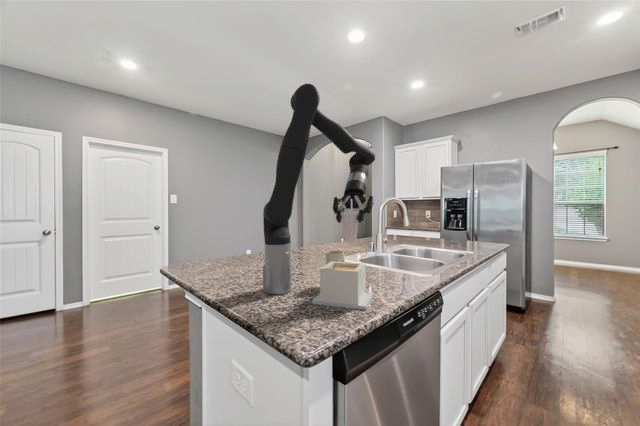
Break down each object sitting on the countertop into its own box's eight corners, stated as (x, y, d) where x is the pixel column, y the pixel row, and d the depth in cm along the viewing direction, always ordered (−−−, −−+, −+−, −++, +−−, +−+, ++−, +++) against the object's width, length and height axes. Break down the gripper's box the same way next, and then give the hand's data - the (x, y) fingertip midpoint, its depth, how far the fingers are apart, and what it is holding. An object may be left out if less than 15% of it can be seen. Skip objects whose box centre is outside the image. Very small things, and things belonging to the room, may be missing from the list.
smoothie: (361, 242, 88) (360, 198, 87) (341, 242, 88) (340, 199, 87) (359, 239, 94) (358, 198, 94) (340, 240, 94) (339, 199, 94)
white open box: (312, 303, 86) (311, 268, 85) (325, 291, 98) (325, 260, 98) (366, 309, 80) (366, 272, 80) (373, 296, 92) (373, 263, 92)
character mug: (349, 289, 100) (348, 254, 99) (330, 291, 98) (329, 255, 98) (340, 281, 110) (339, 249, 110) (323, 283, 109) (322, 250, 108)
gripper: (335, 180, 100) (325, 213, 89) (374, 177, 95) (369, 213, 84) (339, 195, 105) (330, 228, 94) (377, 193, 100) (372, 228, 89)
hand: (349, 221), depth 89 cm, fingers closed on smoothie, 6 cm apart
